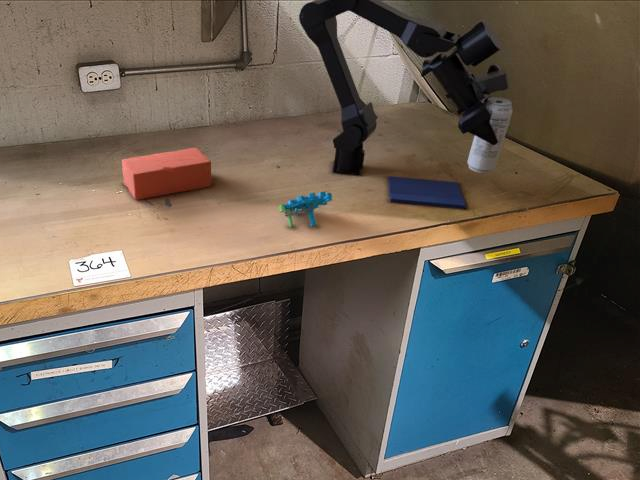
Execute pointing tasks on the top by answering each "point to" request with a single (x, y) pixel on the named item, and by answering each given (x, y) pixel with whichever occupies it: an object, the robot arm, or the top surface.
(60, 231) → the top surface
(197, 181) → the brick
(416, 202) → the book
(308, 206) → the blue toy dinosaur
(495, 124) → the energy drink can
